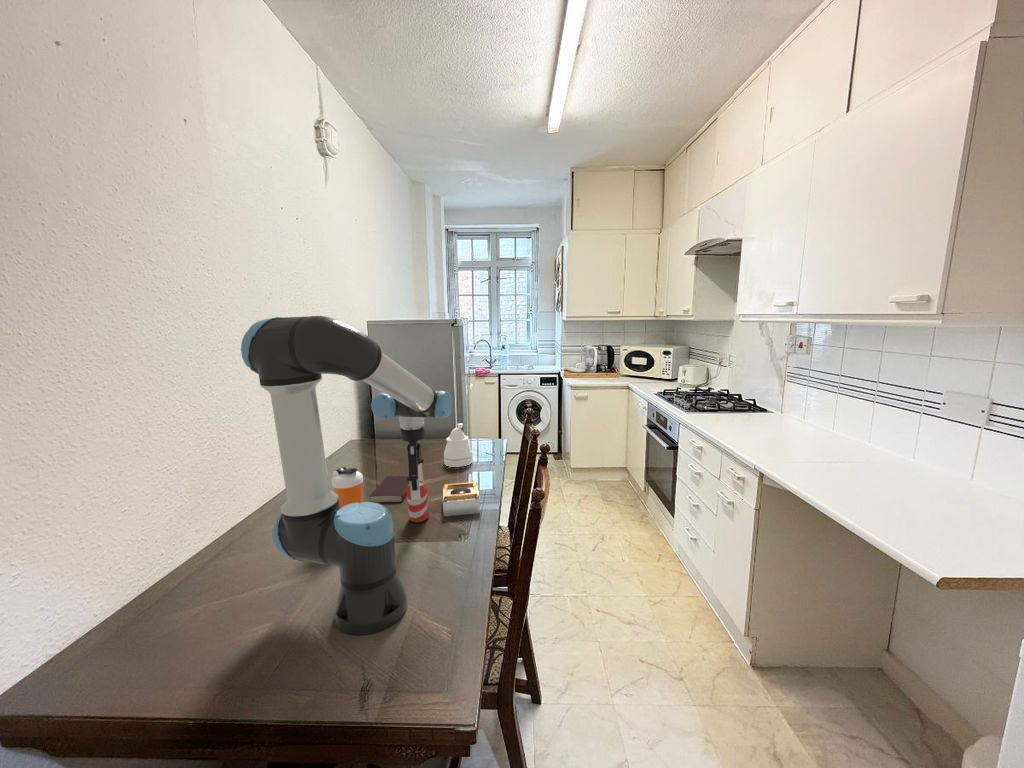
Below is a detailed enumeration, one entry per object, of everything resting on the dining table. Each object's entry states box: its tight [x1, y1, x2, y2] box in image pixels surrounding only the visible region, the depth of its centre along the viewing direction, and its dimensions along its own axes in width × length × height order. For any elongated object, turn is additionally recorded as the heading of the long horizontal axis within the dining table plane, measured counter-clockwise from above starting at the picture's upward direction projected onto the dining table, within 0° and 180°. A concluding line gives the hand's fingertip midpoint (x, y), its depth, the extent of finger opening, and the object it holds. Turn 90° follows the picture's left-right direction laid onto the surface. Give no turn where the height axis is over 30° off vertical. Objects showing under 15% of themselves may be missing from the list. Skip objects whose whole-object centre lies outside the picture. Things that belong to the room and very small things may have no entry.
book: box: [368, 475, 410, 503], centre depth 161 cm, size 12×19×3 cm, turn 177°
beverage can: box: [406, 480, 430, 523], centre depth 137 cm, size 6×6×12 cm
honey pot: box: [443, 422, 474, 468], centre depth 191 cm, size 13×13×18 cm
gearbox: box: [442, 481, 481, 517], centre depth 146 cm, size 14×12×6 cm
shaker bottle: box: [331, 466, 364, 508], centre depth 129 cm, size 9×9×20 cm
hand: (417, 490), depth 136 cm, fingers open, 13 cm apart
